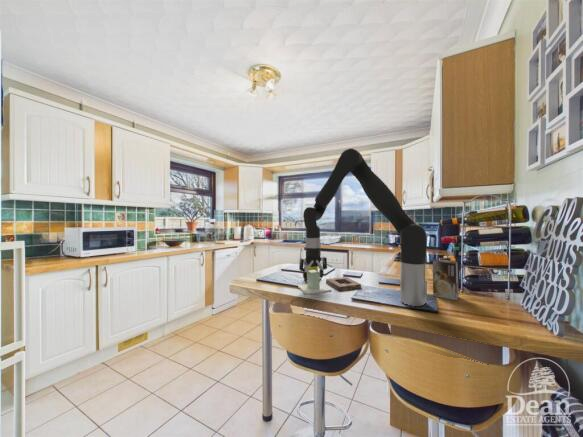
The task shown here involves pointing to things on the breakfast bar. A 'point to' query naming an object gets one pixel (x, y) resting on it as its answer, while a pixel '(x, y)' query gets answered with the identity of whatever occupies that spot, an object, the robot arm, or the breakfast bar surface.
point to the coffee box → (445, 279)
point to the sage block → (313, 279)
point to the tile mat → (311, 291)
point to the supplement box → (310, 269)
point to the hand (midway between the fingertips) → (313, 278)
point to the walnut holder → (348, 286)
